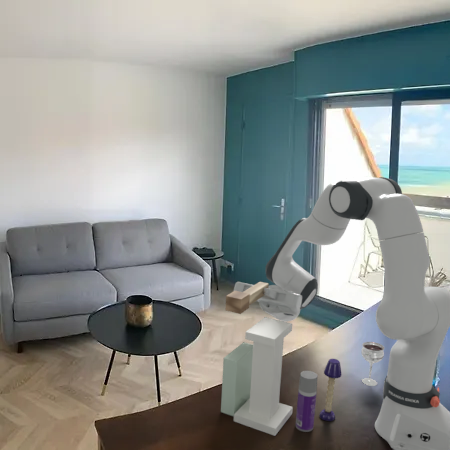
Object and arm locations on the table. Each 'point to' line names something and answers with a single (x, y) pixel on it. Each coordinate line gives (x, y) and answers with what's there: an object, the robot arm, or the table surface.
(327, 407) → the toy lamp
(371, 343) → the wineglass
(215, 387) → the table surface
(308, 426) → the container
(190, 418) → the table surface
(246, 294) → the tan long block
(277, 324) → the white i-beam pillar
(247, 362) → the pale green rectangular block
